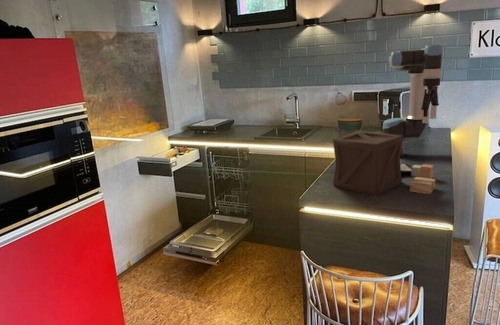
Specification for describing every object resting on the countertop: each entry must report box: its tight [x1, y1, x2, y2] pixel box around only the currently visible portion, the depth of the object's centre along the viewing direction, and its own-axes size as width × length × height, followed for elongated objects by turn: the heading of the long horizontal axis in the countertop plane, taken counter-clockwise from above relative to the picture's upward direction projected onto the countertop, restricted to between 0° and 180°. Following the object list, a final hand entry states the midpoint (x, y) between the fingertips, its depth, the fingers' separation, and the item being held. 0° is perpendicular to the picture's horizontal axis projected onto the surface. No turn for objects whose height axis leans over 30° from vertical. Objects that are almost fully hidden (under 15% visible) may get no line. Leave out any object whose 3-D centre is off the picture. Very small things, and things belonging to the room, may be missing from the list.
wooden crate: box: [332, 130, 404, 197], centre depth 195 cm, size 25×25×25 cm
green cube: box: [410, 164, 423, 177], centre depth 206 cm, size 5×5×5 cm
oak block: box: [409, 176, 436, 195], centre depth 184 cm, size 9×9×5 cm
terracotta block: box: [420, 163, 434, 179], centre depth 199 cm, size 5×5×7 cm
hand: (429, 120), depth 192 cm, fingers open, 13 cm apart
